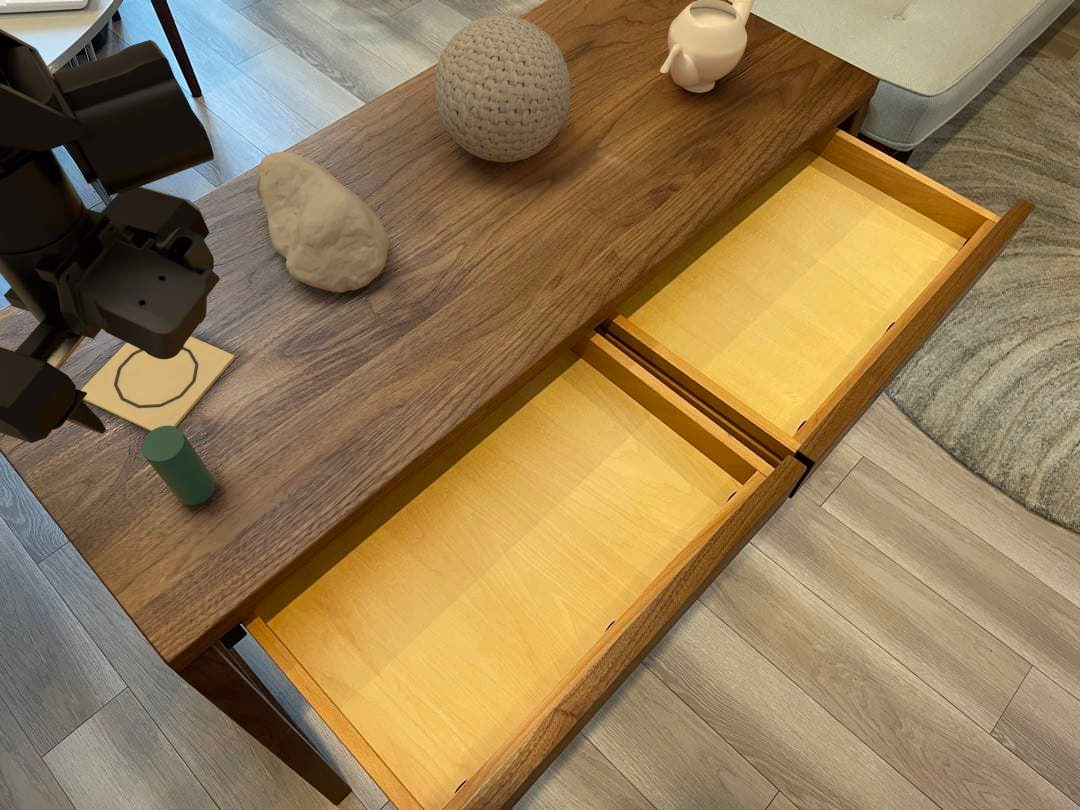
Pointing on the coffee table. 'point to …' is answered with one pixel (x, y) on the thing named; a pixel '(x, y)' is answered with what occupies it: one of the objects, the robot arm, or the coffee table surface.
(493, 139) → the decorative ball
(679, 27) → the teapot
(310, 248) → the decorative stone
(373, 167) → the coffee table surface
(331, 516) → the coffee table surface
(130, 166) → the robot arm
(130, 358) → the sketch card
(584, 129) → the coffee table surface
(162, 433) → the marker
